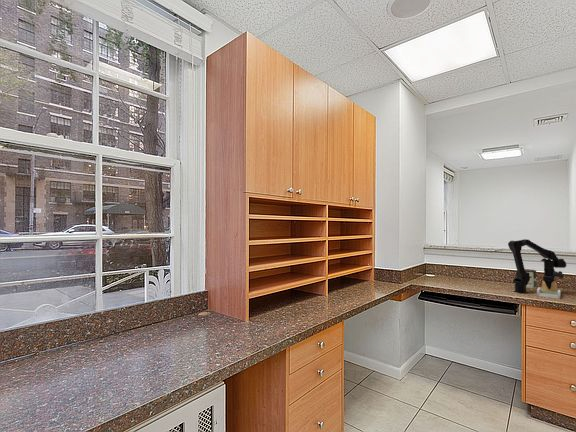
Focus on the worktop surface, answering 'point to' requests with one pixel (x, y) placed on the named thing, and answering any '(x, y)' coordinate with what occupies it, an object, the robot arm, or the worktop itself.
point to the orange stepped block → (553, 286)
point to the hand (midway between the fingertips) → (549, 288)
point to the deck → (548, 293)
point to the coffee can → (531, 278)
